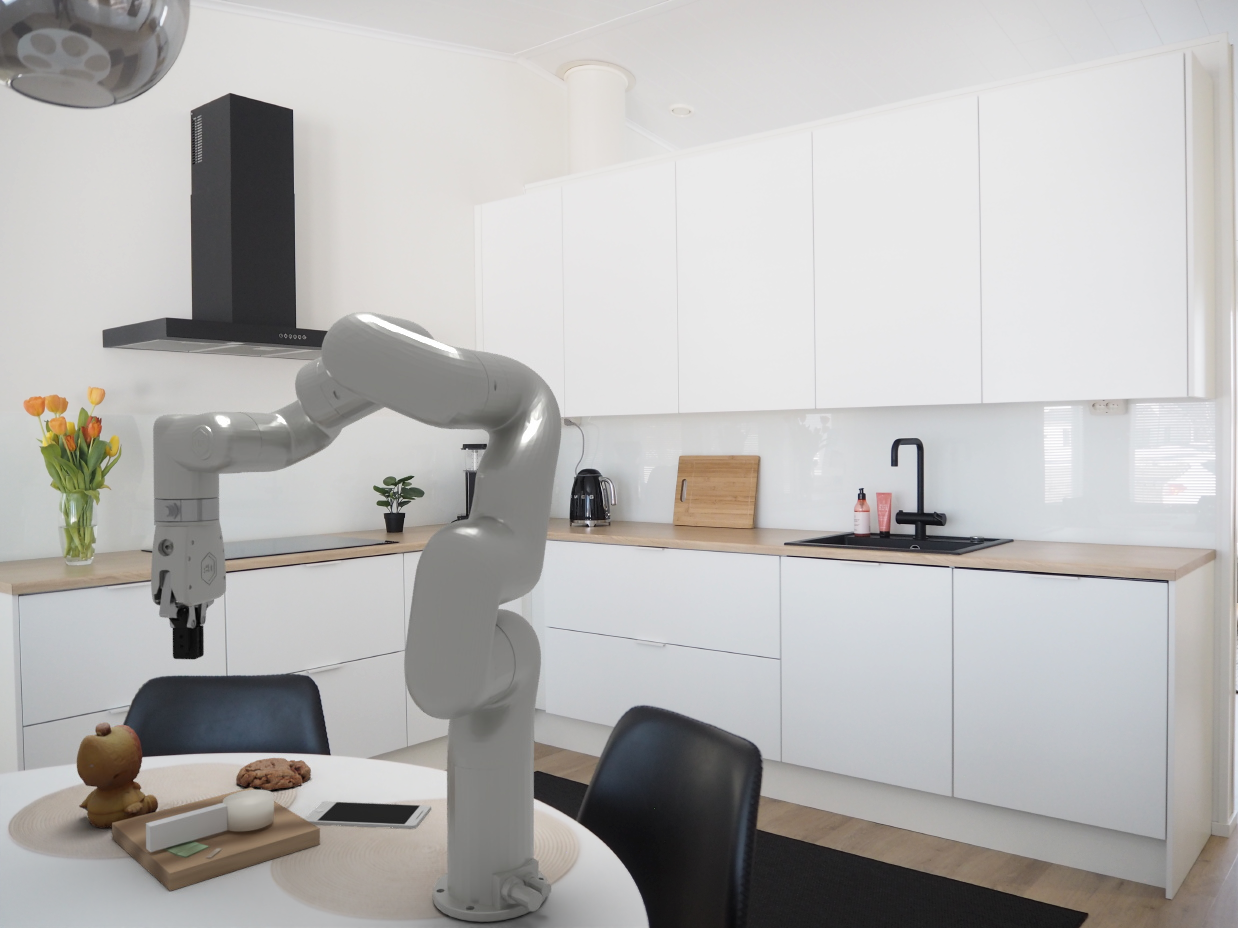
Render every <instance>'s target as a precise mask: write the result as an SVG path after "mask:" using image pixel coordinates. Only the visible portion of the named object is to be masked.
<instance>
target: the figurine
mask: <svg viewBox="0 0 1238 928" xmlns="http://www.w3.org/2000/svg"><path fill="white" fill-rule="evenodd" d="M141 744H142V743H141V741H140V738H139V736H138V734H137V733H136V732H135V730H134V729H133V728H131V727H130V726H129V725H125V724H117V725H115V726H111V725H110V723H108V722H104V721H102V722H99V723H98V724H97V725H96V726H95V734H89V735H86V736H85V737H84V738H83V739H82V740H81V742H80V745H79V748H78V751H77V756H76V770H77V775H78V776H79V778H80V779H81V780H82V781H83V783H84V784H85V786H86V787H95V788H94V790H92V791H91V792H89V794H88V795H87V796H86V798H85V799H84V800H83V801H82V802H81V804H79V805H78V806H79V808H81V809H84V810H85V811H86V812H87V813H86V814H87V819H88V821H89V823H90V824H91V825H92V826H93V827H96V828H99V829H100V828H101V829H105V828H107V829H108V828H110V829H112V823H114V822H118V821H122V820H126V819H130V818H133V817H137V816H141V815H145V814H149V813H153V812H157V811H158V808H159V801H158V799H157V797H156V796H155V795H153V794H148V795H146V794H145V793H144V792H142V791H141V789H142V787H141V785H140V783H139V782H137V781H135V779H136V778H137V777H138V776H139V774H140V772H141V771H140V770H141V767H142V763H143V752H142V750H143V749H142V745H141Z"/></svg>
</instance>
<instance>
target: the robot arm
mask: <svg viewBox="0 0 1238 928" xmlns="http://www.w3.org/2000/svg"><path fill="white" fill-rule="evenodd" d="M320 354H321V356H320V357H317V358H316V359H314V360H311V361H309V362H308V363H306V364H304V365H303V366H302V367H301V368H300V369H299V370H298V372H297V374H296V377H295V382H294V387H295V390H294V391H295V395H296V399H297V400H295V401H293V402H291V403H288V405H287V404H286V406H283V407H282V408H279V409H277V410H275V411H271V412H269V413H264V412H263V413H262V412H247V411H246V412H245V411H243V412H241V411H238V412H237V411H212V412H210V411H209V412H206V413H200V414H192V413H191V414H187V413H185V414H184V413H183V414H181V413H180V414H177V413H176V414H165V415H164V414H163V415H161V416H158V417H157V418H156V419H155V421H154V423H153V428H152V429H153V430H152V432H153V434H152V439H153V440H152V442H153V443H152V444H153V446H152V448H153V450H152V451H153V454H152V455H153V522H154V523H153V525H154V526H155V528H154V534H153V543H152V552H151V553H152V554H151V564H150V565H151V568H150V569H151V571H150V588H151V591H150V592H151V598H152V601H153V603H154V604H155V605H156V606H159V611H158V614H159V617H160V618H166V619H168V620H169V627H170V628H172V658H173V659H174V660H197V659H199V658H202V657H203V656H204V652H205V651H204V650H205V649H204V648H205V646H204V642H205V640H204V639H205V637H204V634H205V633H204V625H205V624H206V620H207V610H208V608H209V607H211V605H213V604H214V602H215V600H216V599H218V598H220V597H223V595H224V594H225V593H226V592H227V571H226V557H225V556H226V555H225V545H224V537H223V531H222V527H221V523H220V475H221V474H222V475H224V474H229V475H230V474H241V473H243V474H244V473H269V472H277V471H279V470H285V469H286V468H288V467H292V466H293V465H296V464H297V463H300V462H301V461H304V460H306V459H308V458H309V457H313V456H314V455H316V454H318V453H320V452H321V451H323V450H325V449H326V448H328V447H329V446H331V444H332V443H333V442H334V441H335V440H336V439H337V438H338V437H339V435H340V434H341V432H342V430H343V429H345V428H346V427H348V426H349V425H352V424H354V423H356V422H358V421H360V420H363V419H364V418H366V417H367V416H370V415H372V414H374V413H375V412H378V411H380V410H382V409H384V408H386V409H389V410H391V411H394V412H395V413H397V414H400V415H402V416H404V417H407V418H410V419H412V420H415V421H417V422H419V423H422V424H425V425H426V426H431V427H434V428H438V429H443V430H444V429H447V430H483V431H485V432H486V433H488V435H489V437H488V438H489V439H488V442H487V446H486V447H485V449H484V451H483V454H482V455H481V456H482V457H481V458H480V461H479V464H478V466H477V470H476V474H475V481H474V490H473V497H472V503H471V509H470V513H469V515H468V519H467V518H465V519H461V520H457V521H453V522H451V523H447V524H446V525H444V526H443V527H441V528H440V529H438V530H437V531H436V532H434V534H433V535H432V536H431V537H430V538H429V539H428V541H427V542H426V544H425V546H424V548H423V549H422V552H421V554H420V556H419V559H418V561H417V564H416V570H415V575H414V581H413V589H412V596H411V604H410V612H409V618H408V628H407V633H406V643H405V648H404V649H405V650H404V657H403V658H404V659H403V660H404V661H403V668H404V669H403V671H404V672H403V673H404V680H405V681H404V682H405V686H406V689H407V692H408V694H409V696H410V698H411V700H412V701H413V702H414V704H415V705H416V707H418V708H419V710H420V711H422V712H423V713H425V714H426V715H427V716H430V717H432V718H435V719H439V720H445V721H446V720H447V721H448V720H449V722H448V729H447V742H446V748H447V749H446V751H447V752H446V753H447V754H446V755H447V756H446V823H447V824H446V831H447V833H446V834H447V835H446V847H447V848H446V849H447V853H446V855H447V856H446V859H447V863H446V865H447V866H446V867H447V869H446V873H444V874H443V875H442V876H441V877H439V878H438V880H437V881H436V882H435V883H434V886H433V889H432V900H433V903H434V905H435V907H436V909H438V910H440V911H441V913H442V914H445V915H447V916H448V917H452V918H455V919H457V920H462V921H467V922H478V923H479V922H480V923H483V922H488V923H489V922H498V921H504V920H506V921H507V920H509V919H514V918H518V917H520V916H523V915H526V914H528V913H530V912H533V913H534V912H536V911H537V910H539V909H540V907H541V906H542V904H543V903H544V901H545V900H546V898H547V897H548V896H549V895H550V893H552V885H551V884H550V883H548V879H547V877H546V875H544V873H543V872H541V870H539V868H540V867H539V865H540V863H539V860H537V859H535V853H534V852H535V840H534V839H535V827H534V826H535V813H534V812H535V811H534V810H535V808H534V807H535V806H534V805H535V800H534V799H535V798H534V797H535V792H534V791H535V790H534V789H535V788H534V786H535V782H534V781H535V773H534V772H535V771H534V770H535V768H534V767H535V765H534V764H535V763H534V761H535V760H534V759H535V758H534V756H535V716H536V714H535V713H536V705H537V703H536V702H537V695H538V691H539V690H538V689H539V682H540V677H541V676H540V675H541V666H542V654H541V645H540V641H539V637H538V635H537V632H536V631H535V629H534V627H533V625H531V624H530V622H529V621H528V620H527V619H526V618H524V616H522V615H521V614H519V613H517V612H515V611H513V610H510V609H509V610H508V609H503V608H499V607H500V605H503V604H506V603H509V602H512V601H514V600H517V599H520V598H522V597H524V596H526V595H528V594H529V593H530V592H531V591H532V590H533V589H534V588H536V586H537V584H538V582H539V581H540V579H541V576H542V571H543V567H544V562H545V561H544V560H545V552H546V546H547V545H546V544H547V538H548V532H549V524H550V518H551V512H552V511H551V509H552V504H553V503H552V501H553V493H554V484H555V477H556V471H557V465H558V460H559V456H560V455H559V453H560V448H561V447H560V446H561V439H562V416H561V411H560V408H559V405H558V404H559V403H558V402H557V401H558V400H557V399H556V396H555V394H554V392H553V390H552V389H551V387H550V385H549V384H548V383H547V382H546V380H545V379H544V378H543V377H542V376H540V374H538V373H537V372H536V371H535V370H533V369H532V368H531V367H529V366H527V365H526V364H525V363H522V362H520V361H519V360H517V359H514V358H511V357H510V356H509V357H508V356H506V355H502V354H498V353H492V352H487V351H480V350H475V349H469V348H464V347H463V348H462V347H456V346H453V345H450V344H447V343H443V342H441V341H438V340H435V338H434V337H433V336H432V334H431V333H430V332H429V331H428V330H427V329H426V328H425V327H423V326H421V325H420V324H418V323H416V322H414V321H411V320H407V319H403V318H399V317H396V316H390V315H386V314H379V313H375V312H371V311H359V312H358V311H357V312H352V313H349V314H346V315H344V316H342V317H341V318H339V319H338V320H337V321H335V322H334V323H333V324H332V325H331V326H330V327H329V329H328V330H327V332H326V334H325V335H324V338H323V341H322V344H321V352H320Z"/></svg>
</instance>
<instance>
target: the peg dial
mask: <svg viewBox="0 0 1238 928" xmlns="http://www.w3.org/2000/svg"><path fill="white" fill-rule="evenodd" d="M274 801H275V795H274V793H273V792H272V791H271V790H263V789H255V790H246V791H241V792H237V793H234V794H231V795H229V796H227V797H226V798H224V800H223V803H221V804H217V805H213V806H209V807H206V808H202V809H198V810H194V811H190V812H187V813H183V814H179V815H175V816H172V817H168V818H164V819H160V820H156V821H153V822H149V823H146V849H147V850H148V851H150V852H153V851H156V850H160V849H163V848H167V847H170V846H174V845H177V844H181V843H184V842H188V841H191V840H195V839H198V838H202V837H205V836H209V835H212V834H216V833H219V832H223V831H226V830H230V831H251V830H256V829H260V828H263V827H265V826H267V825H269V824H271V823H272V822H273V821H274Z"/></svg>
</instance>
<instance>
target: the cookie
mask: <svg viewBox="0 0 1238 928" xmlns="http://www.w3.org/2000/svg"><path fill="white" fill-rule="evenodd" d="M311 773H312V771H311V767H310V766H309V765H308V764H307V763H306V762H305V761H304V760H302V759H301V760H294V759H292V760H287V759H286V758H282V757H271V758H270V757H269V758H263V759H258V760H255V761H251V762H249V763H248V764H246V765H244V766H243V767H241V768H240V769H239V771H238V773H237V776H236V777H235V778H236V779H235V781H236V784H237V785H239V786H242V787H245V788H251V787H252V788H256V787H257V788H258V787H259V788H260V789H261V790H267V791H273V790H276V789H285V788H292V787H298V786H302V785H303V784H304V783H306V782H308V781H309V780H310V778H311V775H312V774H311Z"/></svg>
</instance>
